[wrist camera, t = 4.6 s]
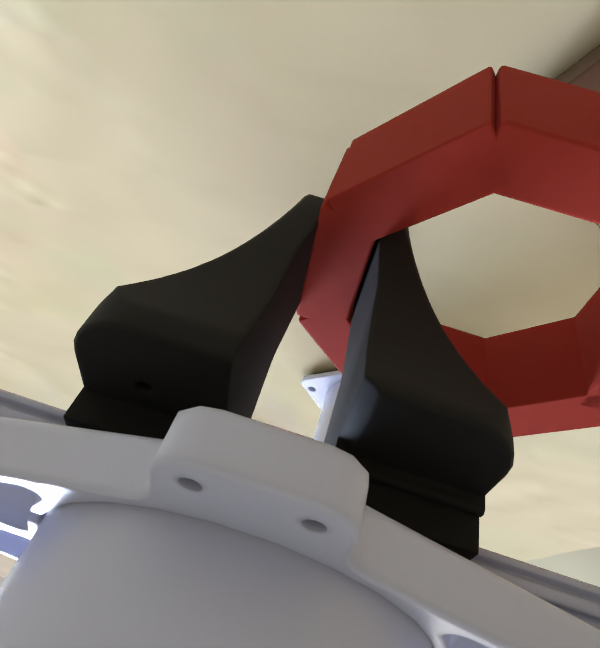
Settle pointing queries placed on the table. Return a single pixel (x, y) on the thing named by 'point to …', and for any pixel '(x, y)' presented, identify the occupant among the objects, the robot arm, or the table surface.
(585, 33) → the table surface
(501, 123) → the ring
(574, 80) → the peg stand
